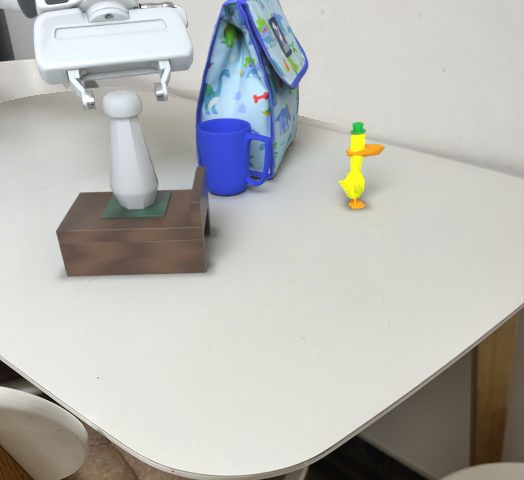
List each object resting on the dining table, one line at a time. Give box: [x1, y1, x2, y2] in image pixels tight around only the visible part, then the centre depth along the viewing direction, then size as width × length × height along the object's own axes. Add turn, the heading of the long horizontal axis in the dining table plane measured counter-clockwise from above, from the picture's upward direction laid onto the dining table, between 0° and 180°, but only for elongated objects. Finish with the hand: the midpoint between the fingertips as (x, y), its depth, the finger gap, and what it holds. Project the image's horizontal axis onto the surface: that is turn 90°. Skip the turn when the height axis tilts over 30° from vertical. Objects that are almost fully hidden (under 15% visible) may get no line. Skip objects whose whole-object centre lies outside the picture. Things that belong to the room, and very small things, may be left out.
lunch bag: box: [195, 0, 309, 181], centre depth 95 cm, size 22×17×26 cm
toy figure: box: [337, 121, 386, 210], centre depth 81 cm, size 7×4×12 cm, turn 106°
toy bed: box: [55, 166, 212, 277], centre depth 72 cm, size 17×12×9 cm
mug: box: [195, 118, 272, 197], centre depth 87 cm, size 8×12×10 cm
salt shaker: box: [102, 89, 159, 209], centre depth 68 cm, size 6×6×13 cm
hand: (126, 103), depth 74 cm, fingers open, 8 cm apart
